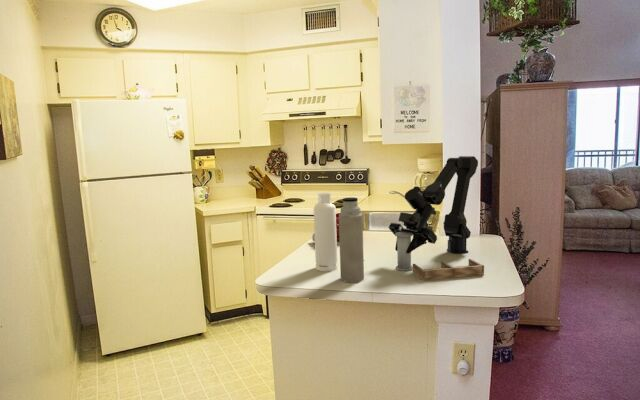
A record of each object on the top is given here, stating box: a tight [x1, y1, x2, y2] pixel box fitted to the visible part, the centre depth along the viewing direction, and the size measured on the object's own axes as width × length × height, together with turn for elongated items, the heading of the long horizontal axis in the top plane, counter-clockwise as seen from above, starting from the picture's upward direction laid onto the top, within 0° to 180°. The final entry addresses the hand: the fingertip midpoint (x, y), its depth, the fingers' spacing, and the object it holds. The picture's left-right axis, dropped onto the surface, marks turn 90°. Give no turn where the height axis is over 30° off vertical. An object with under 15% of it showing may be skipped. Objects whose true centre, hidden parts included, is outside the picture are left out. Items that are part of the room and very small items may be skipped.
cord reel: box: [395, 232, 413, 272], centre depth 160 cm, size 6×6×13 cm
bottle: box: [313, 192, 338, 272], centre depth 163 cm, size 8×8×28 cm
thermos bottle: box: [339, 197, 365, 283], centre depth 150 cm, size 8×8×28 cm
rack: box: [412, 258, 485, 282], centre depth 153 cm, size 22×9×3 cm, turn 100°
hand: (401, 251), depth 159 cm, fingers closed on cord reel, 5 cm apart
